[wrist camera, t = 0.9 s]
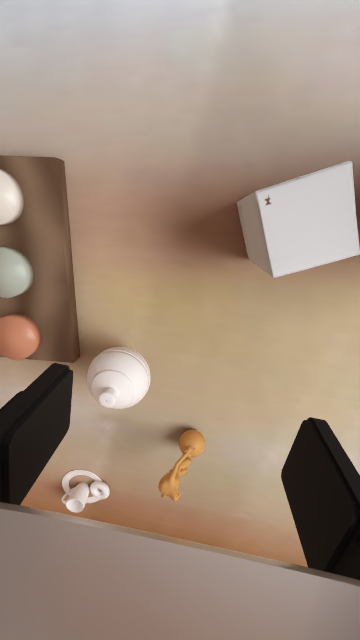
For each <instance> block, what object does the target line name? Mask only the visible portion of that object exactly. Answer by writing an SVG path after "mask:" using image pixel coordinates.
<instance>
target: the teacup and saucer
mask: <svg viewBox="0 0 360 640" xmlns="http://www.w3.org/2000/svg"><path fill="white" fill-rule="evenodd" d="M75 475H86V476H89V477H91V478H92V479H94V480H95V481H94V482H93V483H92V484H91V486H90V491H91V493H92V495H93V497H89V498H88V494H89V486H88V484H86V483H84V482H81V483H79V484H78V485H77V486H76V487H74V488H72V489H70V487H69V480H70V479H71V478H72V477H73V476H75ZM62 486H63V489H64V491H65V492H66V493H65V494H64V496H63V497H62V502H63V503H64V504H66V507H67V508H68V509H69V510H70V511H72V512H81V511H82V510H83V509H84V506H85V503H92V502H96V501H98V500H100V499H105V498H107V497H108V496H109V492H110V491H109V487H108V486H107V484H105V483H104V482H102V480H101V479H100V478H99V477H98V476H96V475H95V474H93V473H91V472H89V471H85V470H73V471H70V472H68V473H67V474H66V475H65V476H64V477H63V480H62ZM98 489H99V490H98ZM67 495H68V496H69V498H68V500H66V501H63V499H64V498H65V497H66V496H67Z"/></svg>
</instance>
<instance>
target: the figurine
mask: <svg viewBox="0 0 360 640" xmlns="http://www.w3.org/2000/svg"><path fill="white" fill-rule="evenodd" d="M179 447H180V450H181V451H182V453H183V456H182V457H181V458H180V459H179V460H178V461H177V462H176V464H175V465H174V467H173V469H171V470H170V472H169V473H167V474H166V475H165V476H163V477H162V479H161V480H160V482H159V490H160V492H161V493H162V495H161V497H162V498H165V497H166V496H169V497H170V498H171V499H172V500H174V501H176V500H178V499H179V496H180V494H179V492H178V490H177V489H178V487H179V483H180V480H179V477H180V476H182V475H183V474H186V473H187V468H186V467H187V466H188V465H190V464H191V462H192V461H191V458H193V457H197V456H199V455H200V454H201V453H202V452H203V450H204V447H205V441H204V437H203V436H202V434H201V433H200V432H198V431H197V430H193V429H191V430H187V431H185V432H184V433H183V434H182V435H181V437H180V440H179Z"/></svg>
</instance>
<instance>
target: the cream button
mask: <svg viewBox="0 0 360 640" xmlns="http://www.w3.org/2000/svg"><path fill="white" fill-rule="evenodd" d="M23 206H24V199H23V194H22V191H21V188H20V186H19V184H18V183H17V181H16V180H15V179H14V178H13V177H12V176H11V175H10V174H9V173H7V172H6V171H4V170H2V169H0V225H7V224H11V223H13V222H15V221H16V220H17V219H18V218H19V217H20V215H21V213H22V210H23Z"/></svg>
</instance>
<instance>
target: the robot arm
mask: <svg viewBox="0 0 360 640" xmlns="http://www.w3.org/2000/svg"><path fill="white" fill-rule="evenodd" d="M72 384H73V371H72V370H70V368H69V366H67V365H62V364H58V363H53V364H52V365H51V366H50V367H49V368H47V369H46V370H45V371H44V372H43V373H42V374H41V375H40V376H39V377H38V378H37V379H36V380H35V381H34V382H33V383H31V384H30V385H29V386H28V387H27V388H26V389H25V390H24V391H21V392H19V393H17V394H16V395H15V396H14V397H13V398H12V399H11V400H10V401H9V402H7V403H6V404H5V405H4V406H3V407H2V408H1V409H0V640H360V475H359V474H358V472H357V470H356V469H355V467H354V465H353V464H352V462H351V461H350V459H349V457H348V456H347V454H346V452H345V451H344V449H343V448H342V446H341V444H340V443H339V441H338V439H337V438H336V436H335V435H334V433H333V431H332V430H331V428H330V426H329V425H328V423H327V422H326V421H325V420H321V419H316V418H311V417H310V418H308V419H307V420H304V421H303V422H302V424H301V426H300V429H299V431H298V433H297V436H296V438H295V440H294V443H293V445H292V448H291V450H290V452H289V455H288V457H287V459H286V462H285V464H284V466H283V469H282V473H281V478H282V482H283V485H284V489H285V492H286V495H287V499H288V502H289V505H290V509H291V512H292V515H293V518H294V522H295V525H296V528H297V532H298V535H299V538H300V542H301V545H302V548H303V551H304V555H305V558H306V561H307V565H308V567H304V566H300V565H295V564H291V563H286V562H282V561H278V560H273V559H269V558H264V557H260V556H255V555H251V554H246V553H242V552H238V551H233V550H229V549H224V548H220V547H215V546H211V545H206V544H201V543H197V542H192V541H188V540H183V539H179V538H174V537H169V536H165V535H160V534H156V533H151V532H146V531H142V530H137V529H133V528H128V527H123V526H118V525H114V524H109V523H104V522H100V521H95V520H90V519H86V518H81V517H76V516H71V515H67V514H62V513H57V512H52V511H46V510H41V509H36V508H31V507H26V506H20V504H21V503H22V501H23V499H24V498H25V496H26V495H27V493H28V492H29V490H30V489H31V487H32V486H33V484H34V483H35V481H36V479H37V478H38V476H39V475H40V473H41V472H42V470H43V469H44V467H45V466H46V464H47V463H48V461H49V459H50V458H51V456H52V455H53V453H54V452H55V450H56V449H57V447H58V446H59V444H60V443H61V441H62V439H63V438H64V436H65V435H66V433H67V431H68V429H69V425H70V412H71V398H72Z"/></svg>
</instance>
